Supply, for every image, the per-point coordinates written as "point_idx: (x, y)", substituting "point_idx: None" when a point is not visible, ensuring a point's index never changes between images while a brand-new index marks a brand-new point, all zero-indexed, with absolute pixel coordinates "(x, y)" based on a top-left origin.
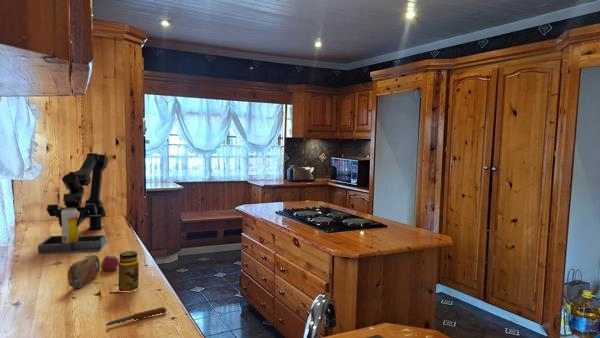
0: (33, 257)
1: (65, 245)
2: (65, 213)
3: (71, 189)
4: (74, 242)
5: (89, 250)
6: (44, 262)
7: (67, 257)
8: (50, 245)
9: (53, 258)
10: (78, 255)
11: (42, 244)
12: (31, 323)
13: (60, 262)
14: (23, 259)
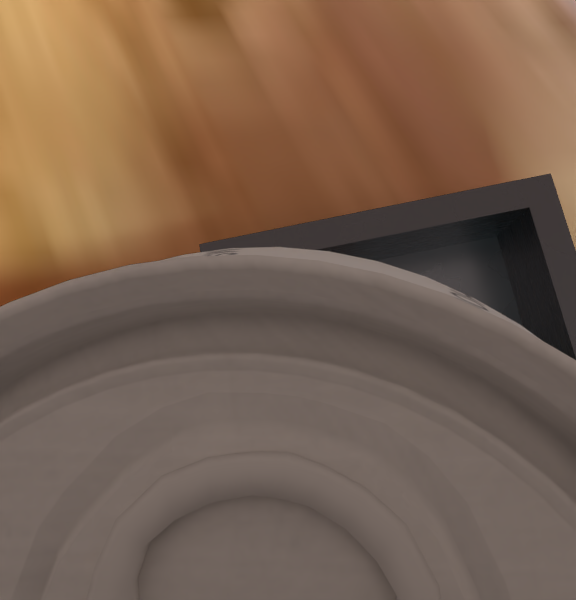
0: (487, 119)
1: (260, 238)
2: (290, 250)
3: None
4: None
5: None
6: (314, 4)
7: (189, 128)
8: (417, 204)
9: (295, 99)
10: (118, 184)
11: (536, 238)
12: None
13: (189, 9)
14: (539, 65)
